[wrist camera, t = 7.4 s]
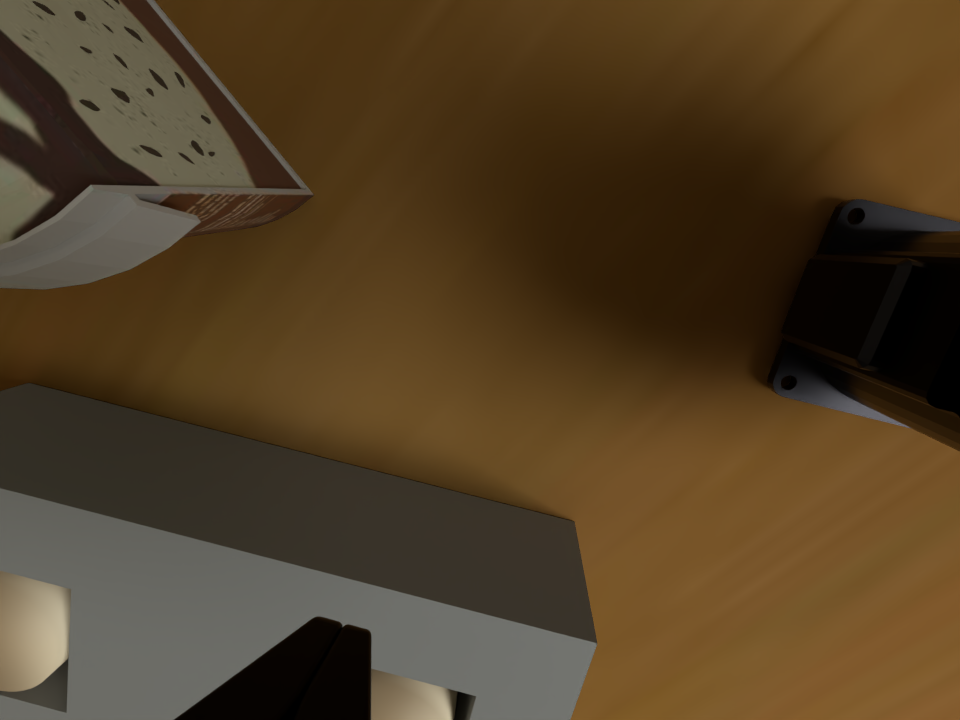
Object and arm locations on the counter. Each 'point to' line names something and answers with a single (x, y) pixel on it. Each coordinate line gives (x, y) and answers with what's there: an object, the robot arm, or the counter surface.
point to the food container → (119, 144)
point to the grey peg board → (271, 566)
